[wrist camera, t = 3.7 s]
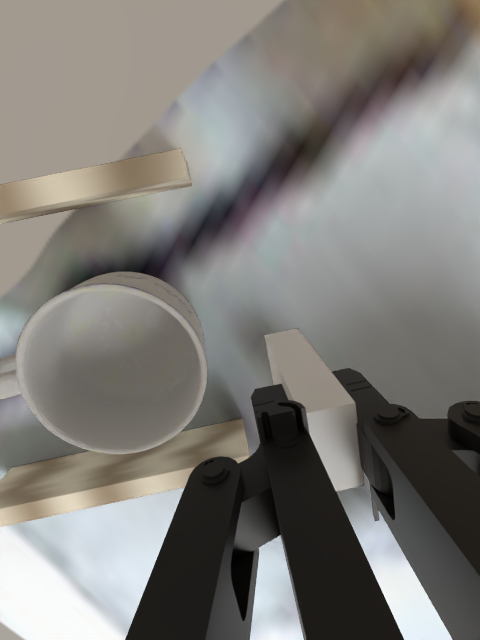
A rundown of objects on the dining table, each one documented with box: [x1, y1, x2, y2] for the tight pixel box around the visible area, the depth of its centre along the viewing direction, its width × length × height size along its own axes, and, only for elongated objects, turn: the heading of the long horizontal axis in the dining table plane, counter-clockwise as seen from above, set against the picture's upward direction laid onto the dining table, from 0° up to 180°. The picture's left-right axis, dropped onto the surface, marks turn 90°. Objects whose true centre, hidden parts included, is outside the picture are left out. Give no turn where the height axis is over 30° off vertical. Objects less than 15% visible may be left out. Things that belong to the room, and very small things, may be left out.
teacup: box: [0, 272, 207, 454], centre depth 24 cm, size 14×11×8 cm
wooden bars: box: [0, 149, 250, 527], centre depth 23 cm, size 27×27×10 cm
